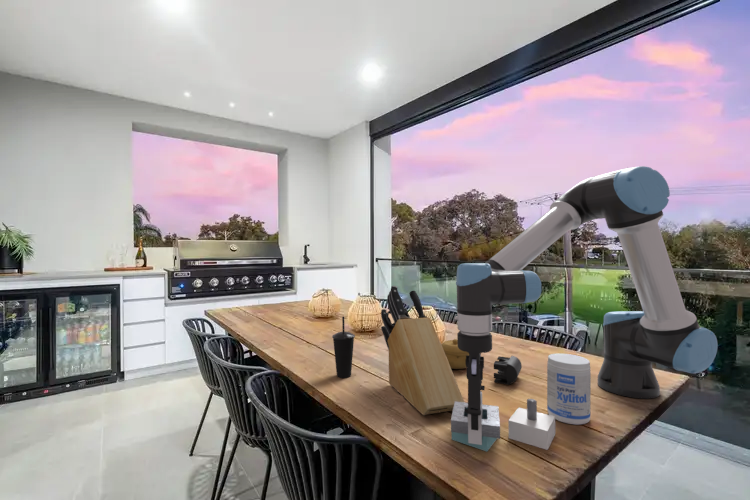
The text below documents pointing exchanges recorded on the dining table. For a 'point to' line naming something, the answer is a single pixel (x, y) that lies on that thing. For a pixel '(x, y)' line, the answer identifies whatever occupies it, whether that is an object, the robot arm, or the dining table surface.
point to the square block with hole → (488, 422)
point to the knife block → (417, 358)
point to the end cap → (507, 370)
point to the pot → (454, 354)
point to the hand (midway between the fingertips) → (475, 429)
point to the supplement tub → (568, 388)
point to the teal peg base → (485, 446)
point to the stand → (532, 426)
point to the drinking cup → (343, 352)
